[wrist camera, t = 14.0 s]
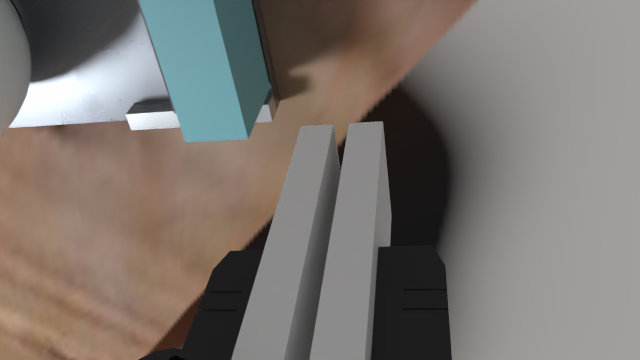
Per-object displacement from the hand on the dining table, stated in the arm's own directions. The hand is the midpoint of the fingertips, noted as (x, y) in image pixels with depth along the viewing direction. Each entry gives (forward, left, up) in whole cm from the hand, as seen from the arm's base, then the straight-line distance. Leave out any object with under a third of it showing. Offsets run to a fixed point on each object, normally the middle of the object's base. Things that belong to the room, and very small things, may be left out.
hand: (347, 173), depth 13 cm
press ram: (-8, 0, -15) cm, 17 cm away
